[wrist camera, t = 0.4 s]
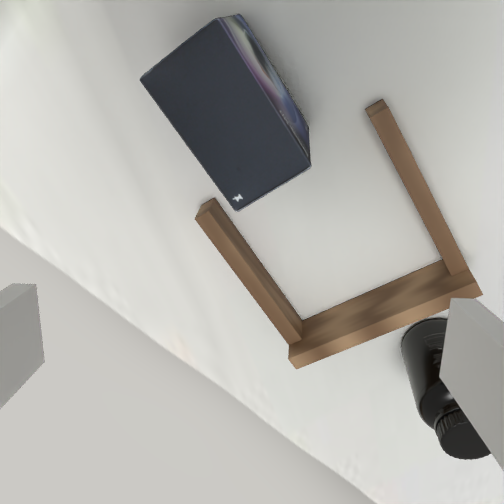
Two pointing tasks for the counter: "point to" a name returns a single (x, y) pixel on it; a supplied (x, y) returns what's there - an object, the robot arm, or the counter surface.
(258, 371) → the counter surface
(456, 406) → the supplement bottle
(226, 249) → the channel
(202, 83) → the small box
